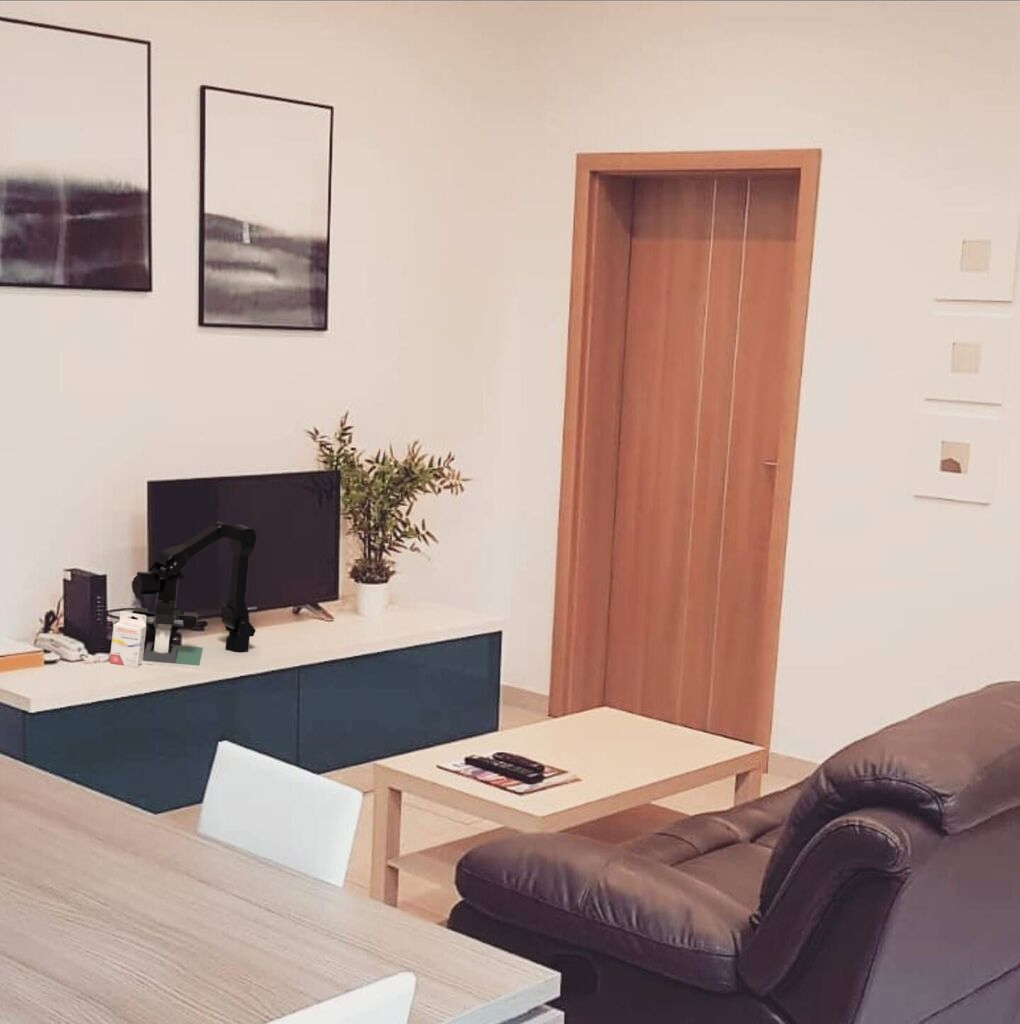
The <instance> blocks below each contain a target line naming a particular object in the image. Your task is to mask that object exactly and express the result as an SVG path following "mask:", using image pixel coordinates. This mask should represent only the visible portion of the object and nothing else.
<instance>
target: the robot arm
mask: <svg viewBox="0 0 1020 1024" xmlns="http://www.w3.org/2000/svg"><path fill="white" fill-rule="evenodd" d="M257 536H258V534H257V532H256V531H255V530H254V529H253V528H251V527H248V526H246V525H243V524H235V525H231V524H228V523H223V522H221V521H215V522H213V523H212V524H211V525H210V526H208V527H207V528H205V529H203V531H201V532H199V533H197V534H196V535H194V536H193V537H191V538H189V539H188V540H186V541H185V542H184V543H181V544H179V545H176V546H175V545H174V546H170V547H169V548H168V547H167V548H166V549H163V550H161V551H160V552H159V553H158V554H157V558H156V560H155V561H154V562H153V564H152V565H151V566H150V567H149V569H148V570H147V571H137V572H136V575H135V576H134V577H133V579H132V582H131V589H132V592H133V594H134V595H135V596H137V597H138V596H139V597H140V596H154V595H156V600H155V601H156V602H155V607H154V611H153V612H152V611H148V608H145V607H137V606H136V607H134V608H133V609H132V612H131V613H135V614H141V615H146V617H147V618H146V626H147V627H148V628H149V631H150V634H151V636H152V637H151V639H152V641H153V642H152V643H154V645H155V636H156V628H157V625H158V624H166V625H172V626H171V636H170V640H169V646H170V645H171V644H173V643H172V642H173V640H174V637H175V636H176V634H177V632H178V630H179V629H181V628H182V629H183V628H184V626H185V627H186V626H188V627H197V624H198V618H199V617H198V616H199V615H198V613H197V612H191V611H190V612H189V611H184V613H183V614H180V610H181V609H180V607H177V597H178V587H179V580H185V579H186V576H185V575H184V574H183V573H182V570H183V569H184V568H185V567H186V566H187V565H188V564H189V561H190V560H191V559H192V558H193V557H195V556H196V555H197V554H199V553H201V552H202V551H203V550H205V549H207V548H208V547H210V546H211V545H213V544H214V543H216V542H218V541H219V540H220V539H222V538H227V539H228V540H229V546H230V548H231V552H232V562H231V574H230V586H229V588H230V589H229V597H228V601H227V602H226V603H225V604H221V607H220V608H221V611H220V612H221V613H220V616H219V618H221V623H223V625H224V627H225V631H227V632H228V635H227V636H226V640H225V641H226V642H225V651H229V652H233V653H248V652H249V647H250V637H254V635H255V633H256V628H255V627H254V626H253V624H251V623H250V612H249V609H248V606H247V603H246V596H247V584H248V576H249V575H248V574H249V565H250V564H249V562H250V556H251V555H252V553H253V551H254V550H255V547H256V544H257V538H258V537H257ZM130 619H136V620H137V619H138V618H136V617H134V616H132V617H130ZM172 622H173V624H172Z"/></svg>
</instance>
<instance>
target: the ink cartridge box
mask: <svg viewBox="0 0 1020 1024" xmlns="http://www.w3.org/2000/svg"><path fill="white" fill-rule="evenodd" d="M132 616H134V617H136V618H138V619H137V620H136V619H131V617H132ZM129 617H130V618H129ZM146 618H147V617H146V615H141V614H135V613H132V612H129V611H123V610H121V611H120V612H119V621H117V622H116V623H114V624H113V629H112V636H111V645H110V656H109V664H113V665H119V666H124V665H125V666H124V667H130V666H132V667H131V668H136V667H137V668H139V667H140V666H141V665H142V662H143V661H144V652H145V646H146V645H145V644H146V634H147V625H146Z"/></svg>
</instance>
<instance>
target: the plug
mask: <svg viewBox="0 0 1020 1024" xmlns="http://www.w3.org/2000/svg"><path fill="white" fill-rule="evenodd" d="M172 627H173V624H169V625H166V624H162V623H160V624H156V636H155V646H154V651H155V652H158V653H165V652H167V653H168V651H169V647H170V646H169V640H170V636H171V632H172Z"/></svg>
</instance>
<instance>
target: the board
mask: <svg viewBox="0 0 1020 1024" xmlns="http://www.w3.org/2000/svg"><path fill="white" fill-rule="evenodd" d="M145 646H146V647H145V648H144V655H143V661H144V662H152V663H162V664H163V663H164V664H165V663H166V664H175V665H184V666H185V665H188V666H198V667H199V666H200V664H201V659H202V655H203V650H204V647H200V646H189V645H188V646H187V645H179V644H173V643H171V645H170V647H169V651H168V653H167V652H165V653H158V652H155V651H154V646H155V645H154V642H147V643H146V645H145ZM148 665H151V666H153V664H151V663H148Z"/></svg>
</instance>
